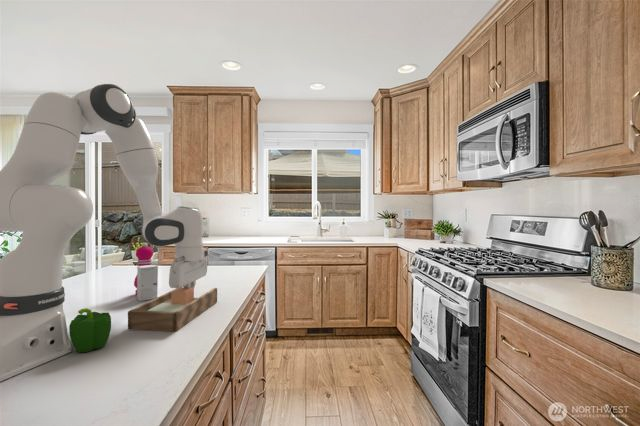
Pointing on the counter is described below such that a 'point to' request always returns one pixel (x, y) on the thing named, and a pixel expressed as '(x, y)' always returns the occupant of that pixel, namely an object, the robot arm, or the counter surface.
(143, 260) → the pepper mill
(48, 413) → the counter surface
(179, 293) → the block
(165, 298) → the box
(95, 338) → the bell pepper
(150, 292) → the skincare box
